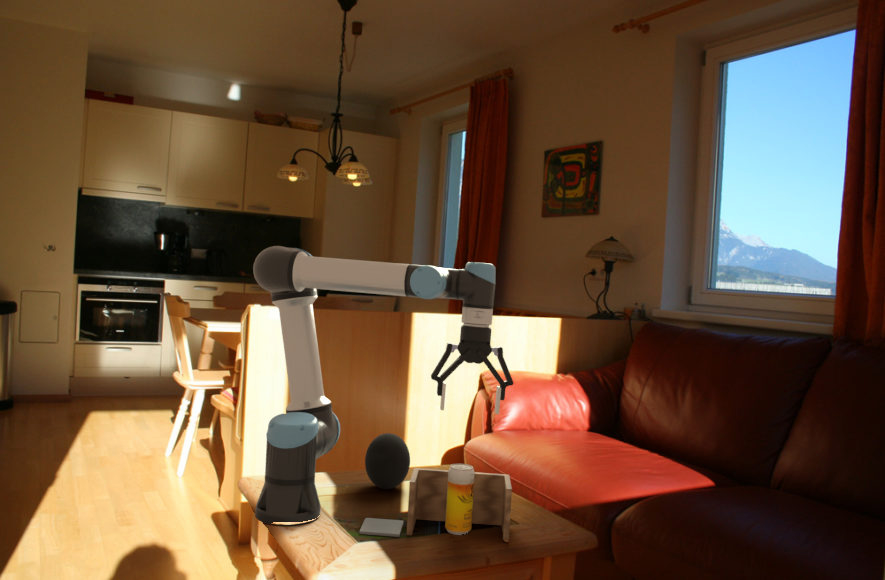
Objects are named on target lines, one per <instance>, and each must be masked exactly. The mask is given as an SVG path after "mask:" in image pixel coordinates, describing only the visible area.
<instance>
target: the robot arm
mask: <svg viewBox="0 0 885 580" xmlns="http://www.w3.org/2000/svg"><path fill="white" fill-rule="evenodd" d="M252 270H253V272H252V273H253V275H254V276H253V277H254V279H255V281H256V283H257V284H258V285H259V287H261V288H262V289H263V290H265V291H267V292H269V293H270V298H271V304H273V305H274V306H275V307H277V308H278V311H279V318H280V328H281V335H282V341H283V351H284V358H285V359H284V360H285V364H286V365H285V367H286V373H287V380H288V382H287V383H288V388H289V395H290V396H289V397H290V398H289V399H290V402H289V403H288V404H287V406H286V407H285V413H280V414H278V415H275V416H273V417H272V418H271V419H270V420H269V422H268V427H267V431H266V446H265V447H266V451H265V452H266V453H265V472H264V483H263V486H262V488H261V490H260V491H261V492H260V494H259V497H258V498H257V499H258V500H257V502H256V504H255V513H254V514H255V515H254V517H255V519H257V520H258V521H259V522H262V523H264V524H266V525H272V524H271V523H273V522H303V521H308V520H312V519H315V518H317V517H318V516H319V515H320V516H321V508H322V507H321V505H322V504H321V502H320V499H319V493H318V490H317V487H316V483H315V482H316V465H317V462H316V461H317V459H319V458H320V457H322V456H325V455H326V454H328V453H329V452H330V451H331V450H332V449H333V448H334V447H335V445H336V444H337V442H338V441H339V438H340V434H341V423H340V421H339V418H338V416H337V415H336V414H335V413H334V412H333V406H332V400H330V399H329V398H328V397H326V396H325V391H324V382H323V375H322V367H321V358H320V351H319V345H318V344H319V343H318V338H317V337H318V335H317V330H316V322H315V313H314V305H313V304H314V303H315V301H316V300H317V299H318V291H317V290H324V291H325V290H329V291H337V292H339V291H340V292H348V293H349V292H350V293H362V294H363V293H364V294H374V295H375V294H376V295H388V296H398V297H408V298H418V299H419V298H420V299H423V300H435V299H449V300H458V301H459V300H461V301H462V311H461V312H462V313H461V323H462V325H461V326H460V333H459V335H460V337H459V343H458V344H456V343H451V342H447V343H446V347H445V352H443V355H442V356H441V357H440V359H439V361H438V363H437V364H436V365H435V368H434V370H433V371H432V373H431V374H430V378H431V380H433V381H435V382H436V383H437V389H436V394H437V396H438V397H440V410H441V411H445V402H446V400H445V399H446V388H447V387H446V386H447V382H445V381H446V380H447V378H449V377H450V376H451V374H452V373H453V372H455V370H457V368H458V367H459V366H460V365H462V364H463V363H464V362H465V363H468V364H477V365H481V364H482V363H484V365H485V366H486V367H487V368H488V370H489V371H490V373H491V374H492V376H493V377H494V379H495V380H496V382H498V384H499V385H496V391H495V404H494V413H495V415H500V410H501V409H500V407H501V401H504V400H505V397H506V388H508V387H509V386H513V385H514V381H513V378H512V375H511V373H510V371H509V368H508V365H507V362H506V360H505V358H504V348H503V347H501V346H495V347H494V346H493V347H492V346H491V341H492V339H491V338H492V328H491V325H492V323H493V311H494V301H495V293H496V292H495V291H496V284H497V283H496V266H495V265H494V264H493V263H486V262H476V261H475V262H473V261H471V262H470V261H468V262H467V263H466V264H465V267H464V268H462V269H461V268H459V269H456V268H449V267H448V268H447V267H438V266H436V265H430V264H423V265H422V264H409V263H397V262H396V263H394V262H384V261H374V260H373V261H372V260H361V259H360V260H359V259H346V258H338V257H337V258H335V257H326V256H325V257H322V256H313V255H312V254H311V253H310V252H308V251H306V250H304V249H301V248H297V247H286V246H281V245H273V246H269V247H267V248H265V249H263V250H261V252H260V253H258V255H257V256H256V258H255V260H254V262H253V267H252ZM456 350H457V351H458V353H459V356H458V357H457V358H456V359H455V360H454V362H452V364H450V366H448V367H447V369H445V370H444V371H443V373H442V374H441V375H440V376H439V374H440V372H441V371H442V369H443V367H444V366H445V364H446V363H447V361H448V359H449V358H450V356H451V353H454V352H455V351H456ZM492 353H493V354H494V355H493V356H496V357H497V360H498V362H499V366H500V368H501V369H502V373H503V374H504V377H505V380H504V379H503V378H502V377H501V376H500V374H499V373H498V371H497V369H496V368H495V367H494V365H493V363H492V362H491V361H490V360H489V358H488V357H489V355H490V354H492Z"/></svg>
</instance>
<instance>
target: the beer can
mask: <svg viewBox="0 0 885 580" xmlns="http://www.w3.org/2000/svg"><path fill="white" fill-rule="evenodd" d="M474 474H475V469H474V466H472V465H470V464H467V463H452V464H450V466H449V469H448V486H447V503H446V520H445V521H444V522H445V525H444V527H445V529H446V531H447V532H448V533H449V534H452V535H457V536H463V535H462V534H464V535H467V534H469V533H468V532H470V531H471V530H472V524H473V523H472V508H473V491H474ZM466 533H467V534H466Z"/></svg>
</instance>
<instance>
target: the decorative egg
mask: <svg viewBox="0 0 885 580" xmlns="http://www.w3.org/2000/svg"><path fill="white" fill-rule="evenodd" d="M408 447H409V446H408V445H407V443H406V441H404V439H402V437H400V435H397V434H394V433H391V432H385V433H381V434H380V435H379V434H378V436H375V438H374V439H373V440H372V441H371V442H370V444H369V445H368V447H367V449H366V453H365V456H364V465H365V472H366V475H367V477H368V479H369V480H370V481H371V483H372V484H374V485H375V486H376V487H377V488H380V489H384V490H391V489H394V488H396V487H398V486H400V485H401V484H402V483H403V482H404V480H405V479H406V477H407V476H408V473H409V470H410V465H411V457H410V455H411V454H410V450H409V448H408Z"/></svg>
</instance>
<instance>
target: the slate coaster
mask: <svg viewBox="0 0 885 580" xmlns="http://www.w3.org/2000/svg"><path fill="white" fill-rule="evenodd" d="M403 525H404V520H400V519H390V518H389V519H388V518H387V519H385V518H377V517H376V518H374V517H365V519H364V520H363V522H362V525H361V527H360V529H359V532H358V533H359V535H370V536H382V537H383V536H385V537H395V538H396V537H397V538H400V535H401V533H402V529H403Z"/></svg>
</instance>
